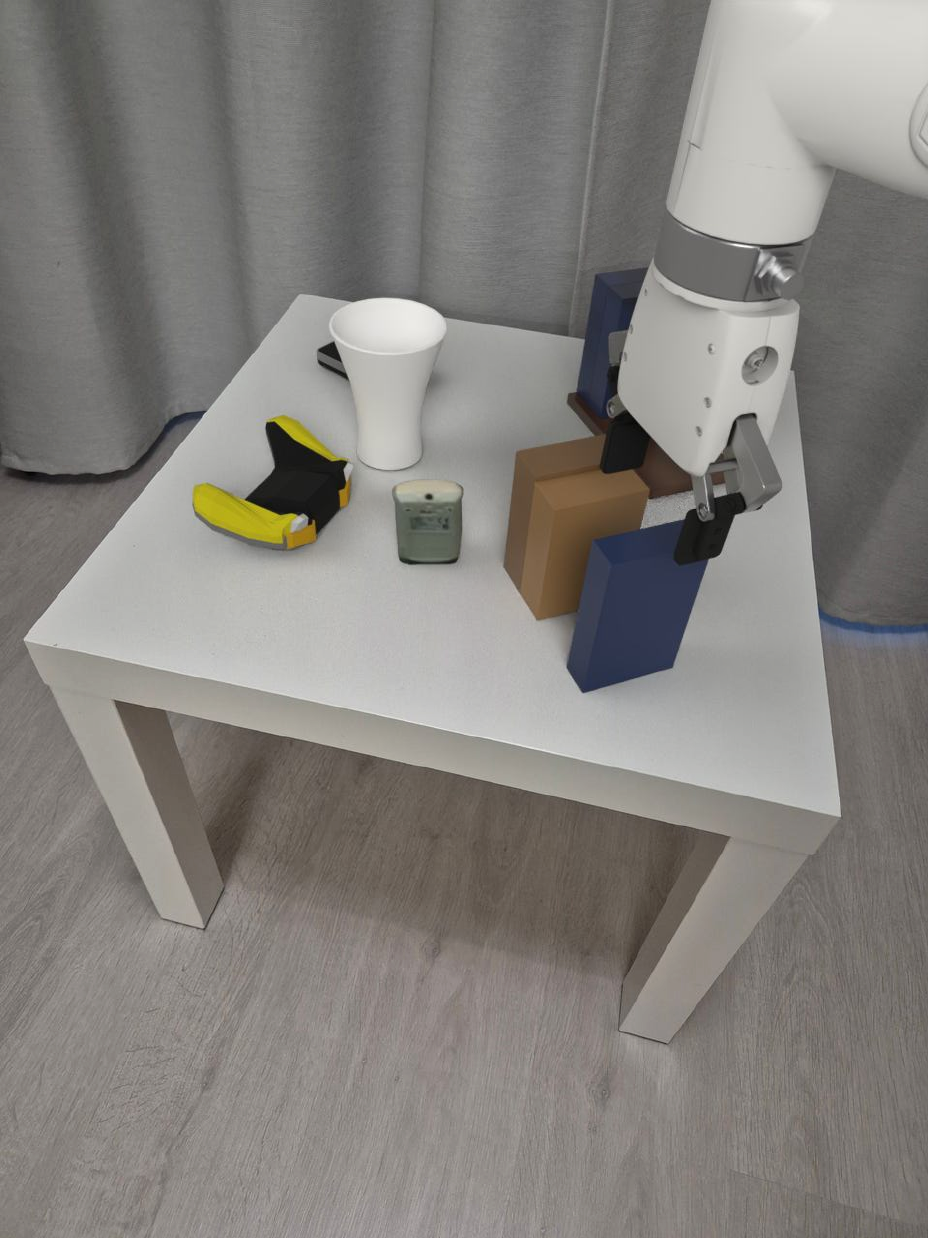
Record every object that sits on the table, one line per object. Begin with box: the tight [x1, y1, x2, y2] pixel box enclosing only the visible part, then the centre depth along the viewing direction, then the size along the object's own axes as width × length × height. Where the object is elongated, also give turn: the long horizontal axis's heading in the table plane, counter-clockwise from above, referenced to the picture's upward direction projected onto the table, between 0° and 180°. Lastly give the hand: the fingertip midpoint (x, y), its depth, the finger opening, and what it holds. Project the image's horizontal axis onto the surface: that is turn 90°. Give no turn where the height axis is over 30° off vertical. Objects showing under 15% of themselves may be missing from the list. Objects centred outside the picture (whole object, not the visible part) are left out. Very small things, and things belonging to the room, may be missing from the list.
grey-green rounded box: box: [391, 478, 465, 566], centre depth 74 cm, size 6×5×8 cm
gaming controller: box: [192, 414, 355, 551], centre depth 78 cm, size 15×6×10 cm
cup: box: [328, 297, 448, 471], centre depth 82 cm, size 10×10×14 cm
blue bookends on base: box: [566, 266, 725, 500], centre depth 86 cm, size 10×18×14 cm, turn 22°
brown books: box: [503, 434, 650, 622], centre depth 71 cm, size 8×7×12 cm
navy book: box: [566, 518, 710, 694], centre depth 64 cm, size 8×3×13 cm, turn 112°
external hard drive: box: [316, 340, 349, 380], centre depth 97 cm, size 7×11×2 cm, turn 51°
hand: (656, 511), depth 58 cm, fingers open, 9 cm apart
